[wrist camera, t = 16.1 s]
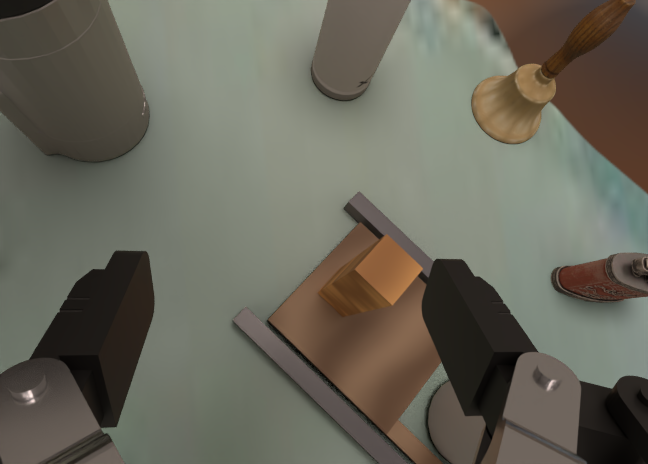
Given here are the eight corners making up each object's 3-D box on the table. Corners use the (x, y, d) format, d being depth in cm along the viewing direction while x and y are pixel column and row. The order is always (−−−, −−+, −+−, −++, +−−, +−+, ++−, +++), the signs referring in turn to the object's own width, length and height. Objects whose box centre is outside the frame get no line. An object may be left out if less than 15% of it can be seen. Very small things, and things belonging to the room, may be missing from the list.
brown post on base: (543, 404, 39) (699, 436, 26) (471, 519, 36) (609, 626, 22) (356, 226, 40) (413, 169, 27) (266, 320, 36) (281, 308, 23)
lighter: (619, 275, 44) (722, 257, 35) (620, 307, 44) (726, 298, 34) (550, 261, 43) (637, 239, 34) (550, 294, 42) (640, 281, 33)
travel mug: (372, 105, 44) (473, -76, 25) (309, 97, 43) (365, -98, 24) (371, 53, 46) (465, -154, 26) (311, 44, 44) (364, -178, 25)
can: (410, 394, 37) (486, 417, 26) (480, 362, 39) (579, 372, 28) (443, 480, 36) (537, 546, 25) (514, 444, 38) (631, 488, 27)
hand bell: (458, 115, 46) (567, 3, 31) (489, 64, 48) (604, -63, 33) (521, 158, 46) (660, 68, 31) (549, 105, 48) (690, -3, 33)
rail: (647, 476, 40) (668, 483, 38) (563, 643, 35) (582, 661, 33) (353, 198, 41) (359, 191, 39) (232, 321, 36) (232, 320, 34)
